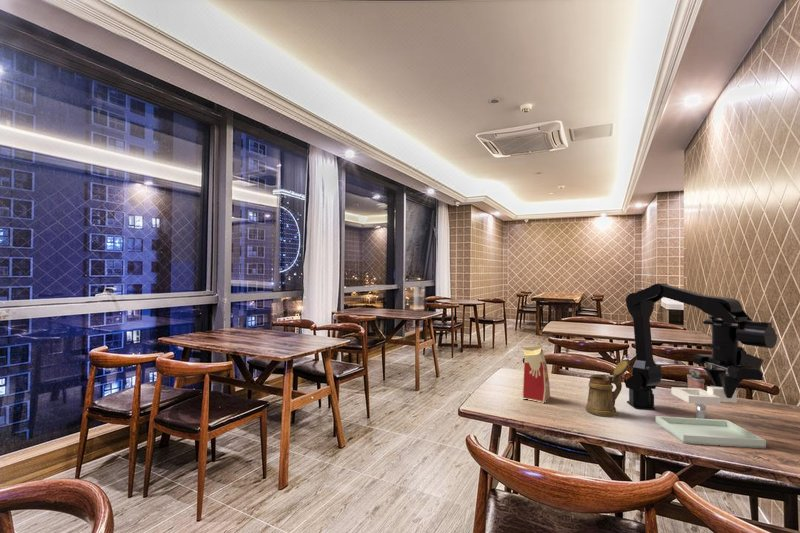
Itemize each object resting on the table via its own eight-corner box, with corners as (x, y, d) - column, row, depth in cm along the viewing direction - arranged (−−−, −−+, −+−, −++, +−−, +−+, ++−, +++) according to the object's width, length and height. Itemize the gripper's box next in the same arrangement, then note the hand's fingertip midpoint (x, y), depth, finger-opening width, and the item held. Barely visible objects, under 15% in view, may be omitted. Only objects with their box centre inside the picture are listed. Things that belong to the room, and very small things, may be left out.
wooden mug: (636, 419, 116) (636, 362, 117) (591, 416, 118) (590, 360, 119) (623, 408, 125) (623, 356, 125) (581, 406, 127) (581, 354, 127)
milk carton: (550, 396, 137) (550, 343, 137) (545, 404, 129) (545, 347, 130) (525, 392, 142) (525, 340, 142) (519, 399, 134) (519, 344, 134)
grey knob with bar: (699, 421, 115) (699, 405, 115) (692, 417, 118) (692, 401, 118) (708, 421, 114) (708, 405, 115) (701, 417, 118) (700, 402, 118)
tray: (683, 443, 100) (683, 435, 100) (655, 423, 113) (655, 416, 113) (766, 448, 97) (765, 440, 97) (727, 427, 110) (727, 420, 110)
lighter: (707, 401, 134) (707, 373, 134) (697, 400, 134) (696, 373, 135) (694, 394, 142) (694, 368, 142) (684, 393, 142) (684, 367, 142)
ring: (688, 403, 102) (688, 390, 102) (671, 393, 110) (671, 382, 110) (744, 406, 100) (744, 393, 100) (723, 396, 108) (722, 384, 108)
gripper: (786, 349, 94) (787, 410, 94) (731, 337, 113) (731, 387, 113) (738, 347, 96) (738, 407, 96) (691, 335, 114) (692, 385, 114)
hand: (725, 396), depth 105 cm, fingers closed on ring, 2 cm apart
